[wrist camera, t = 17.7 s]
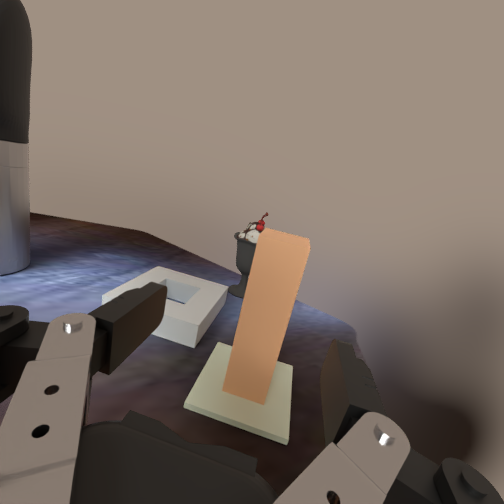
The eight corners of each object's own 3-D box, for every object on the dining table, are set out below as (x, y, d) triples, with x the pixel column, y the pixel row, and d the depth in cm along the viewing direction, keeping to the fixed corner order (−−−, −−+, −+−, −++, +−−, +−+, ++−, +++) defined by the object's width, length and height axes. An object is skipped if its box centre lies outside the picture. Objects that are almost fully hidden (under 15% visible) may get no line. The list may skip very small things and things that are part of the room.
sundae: (250, 305, 42) (272, 216, 38) (216, 290, 44) (233, 205, 40) (265, 292, 48) (285, 214, 44) (234, 280, 50) (251, 205, 46)
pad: (183, 407, 22) (184, 402, 22) (217, 346, 30) (218, 341, 30) (286, 445, 21) (288, 439, 20) (291, 370, 29) (292, 365, 29)
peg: (221, 390, 24) (258, 235, 20) (232, 362, 27) (265, 227, 23) (263, 405, 23) (310, 248, 19) (269, 374, 27) (308, 238, 23)
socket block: (101, 317, 31) (102, 294, 30) (155, 282, 42) (158, 265, 41) (194, 348, 29) (198, 325, 28) (224, 303, 41) (228, 286, 40)
